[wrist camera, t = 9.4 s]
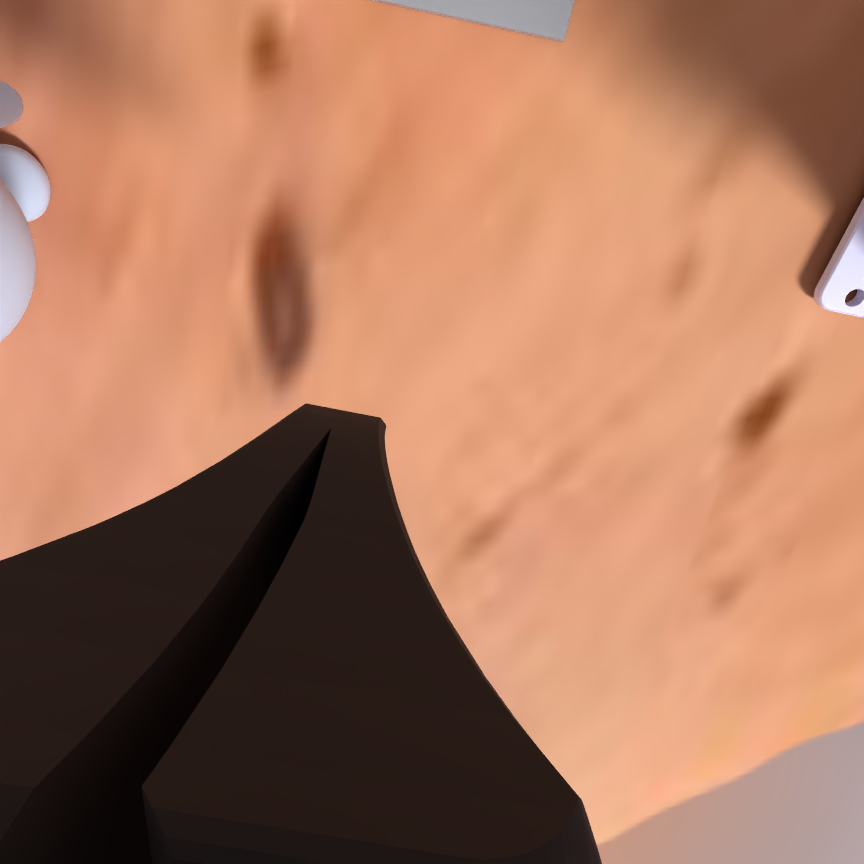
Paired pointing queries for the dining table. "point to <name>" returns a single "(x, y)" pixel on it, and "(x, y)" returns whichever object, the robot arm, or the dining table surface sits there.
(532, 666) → the dining table surface
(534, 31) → the build board
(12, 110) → the toy figure
